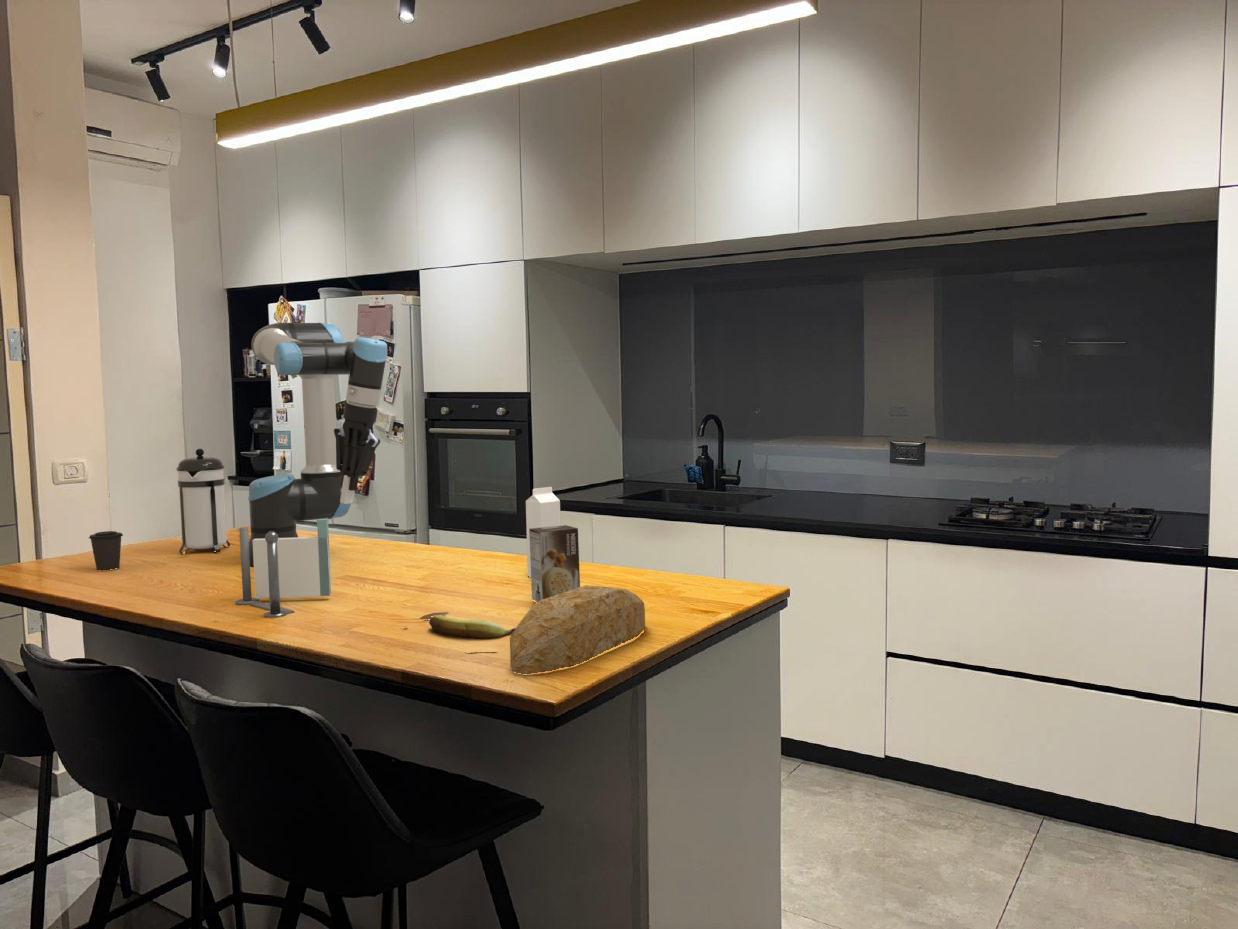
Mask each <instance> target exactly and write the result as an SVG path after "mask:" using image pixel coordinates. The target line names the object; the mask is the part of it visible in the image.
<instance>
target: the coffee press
mask: <svg viewBox="0 0 1238 929" xmlns="http://www.w3.org/2000/svg"><path fill="white" fill-rule="evenodd" d="M204 453H205V451H204V450H203V448H198V449H196V450H195V454H196V457H189V458H184V459H182V460H181V461H180V462H178V465H177V467H176V468H175V469H176V472H177V477H178V480H177V487H178V493H179V496H178V497H179V510H180V526H181V543H182V545H181V547H180V548H179V550H178V553H179V554H180V553H183V550H184V548H185V550H184V551H185V552H187V553H188V551H190V550H203V549H209V550H210V549H211V550H212V552H213V551H216V552H221V549H220V547H221V546H222V547H224V548H226V546H230V547H231V543H230V542H229V540H227V539H228V538H227V536H228V534H227V516H226V514H227V513H226V500H225V499H226V498H225V484H226V483H225V482H226V481H225V477H224V470H225V465H224V464H223V461H222V460H220V459H219V458H217V457H211V456H210V457H209V456H204ZM226 544H227V545H226Z"/></svg>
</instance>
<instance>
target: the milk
mask: <svg viewBox="0 0 1238 929" xmlns="http://www.w3.org/2000/svg"><path fill="white" fill-rule="evenodd" d="M525 515H526V516H525V518H526V519H525V521H526V524H525V525H526V555H527V556H526V557H527V558H526V562H527V567H526V568H527V577H528V576H529V577H531V559H530V533H529V529H531V528H541V527H552V526H561V501H560V498H558V497H557V496H556V495H555V494H554V493H553V487H552V486H546V487H536V488H533V489H532V495H531V496H530V497H528V498H527V499H526V500H525ZM529 577H528V578H529Z"/></svg>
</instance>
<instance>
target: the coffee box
mask: <svg viewBox="0 0 1238 929" xmlns="http://www.w3.org/2000/svg"><path fill="white" fill-rule="evenodd" d="M529 533H530V559H531V578H530V583H531V600H532V599H533V600H535V601H536V602H539V601H540V600H543V599H546V598H549V597H552V596H555V595H558V594H561V593H564V592H567V591H570V590H573V589H576V588H579V587H581V578H580V576H581V575H580V571H581V570H580V548H579V528H578V527H574V526H571V525H566V524H565V525H564V524H563V525H560V526H552V527H541V528H531V529H529ZM536 602H535V603H536Z"/></svg>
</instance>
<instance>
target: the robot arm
mask: <svg viewBox="0 0 1238 929" xmlns="http://www.w3.org/2000/svg"><path fill="white" fill-rule="evenodd" d="M251 351H252V353H253V355H254V356H255V357H256V359H257V360H259V361H260V362H262V363H264V364H266V365H271V366H274V368H275V370H276V372H277V373H278V374H279V375H281V376H282V375H283V376H291V377H292V376H293V377H294V376H298V377H300V379H301V389H302V392H301V393H302V407H303V408H302V410H303V411H302V412H303V428H304V431H303V432H304V447H305V448H304V449H305V450H304V452H305V466H304V467H303V469H302V470H300V478H295V476H294V475H293V474H291V473H285V474H276V475H270V476H265V477H261V478H257V479H255V480H253V481H251V482H250V484H249V486H248V498H247V500H248V501H249V505H248V506H249V519H250V520H249V522H250V523H249V524H250V525H249V526H250V537H249V555H250V565H251V566H250V567H254V560H253V541H252V540H254V539H264V538H265V535H266V534H267V533H268V532H271V531H273V532H276V533H277V534H278V538H297V537H299V536H298V532H297V522H302V521H304V522H305V521H306V522H307V521H314V520H315V521H317V520H318V519H328V520H332V519H335V518H341V517H344V516H346V515H347V513H348V512H349V511H350V508H351V504H353V503H354V497H355V494H356V493H355V491H357V489H358V484H359V478H360V477H366V476H367V474H368V471H369V468H370V465H371V462H372V461H373V458H374V455H375V452H376V449H377V448H378V446H379V445H380V444H381V440H380V439H379V438H376V436H375V435H374V424H376V422H377V418H378V408H377V407H378V406H380V405H379V404H380V399H381V391H382V384H383V379H384V374H385V373H384V372H385V367H386V362H387V358H388V355H387V354H388V344H387V343H386V342H385V341H383V340H379V339H375V338H374V339H373V338H368V337H363V336H362V337H361V336H360V337H359V336H358V337H356V338H355V340H354V341H345V338H344V335H343V333H342V331H341V330H340V328H339V327H338V326H337V325H336V324H334V323H324V322H275V323H270V324H268V325H265V326H263V327H262V328H260V329H258V331H256V332H255V333H254V334H253V337H252V339H251ZM337 375H349V376H348V381H347V382H348V383H347V389H346V396H345V397H346V398H345V401H347V402H346V403H345V404H344V407H343V408H344V409H343V415H342V418H343V420H344V421H343V423H342V426H340V427H339V428H337V406H336V388H335V387H336V386H335V378H336V376H337Z"/></svg>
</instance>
